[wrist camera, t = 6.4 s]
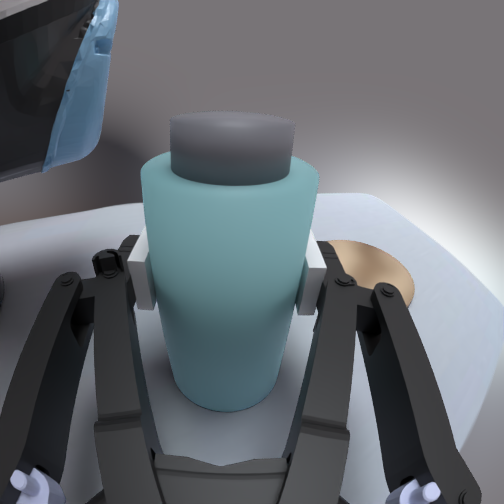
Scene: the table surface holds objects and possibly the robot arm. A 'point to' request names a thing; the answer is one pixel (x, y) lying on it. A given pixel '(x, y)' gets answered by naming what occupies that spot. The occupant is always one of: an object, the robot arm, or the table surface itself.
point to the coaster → (373, 267)
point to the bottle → (227, 250)
